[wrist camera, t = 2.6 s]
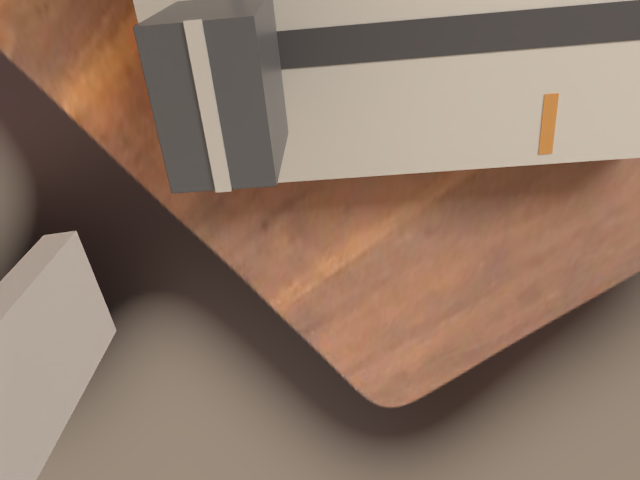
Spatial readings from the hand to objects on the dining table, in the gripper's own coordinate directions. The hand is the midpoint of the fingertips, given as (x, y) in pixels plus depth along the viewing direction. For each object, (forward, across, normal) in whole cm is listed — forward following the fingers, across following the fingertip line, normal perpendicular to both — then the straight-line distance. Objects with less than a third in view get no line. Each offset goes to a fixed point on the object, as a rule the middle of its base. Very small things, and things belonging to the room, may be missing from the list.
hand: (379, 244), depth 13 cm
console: (+21, +3, +1) cm, 22 cm away
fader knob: (+18, -5, +1) cm, 19 cm away
